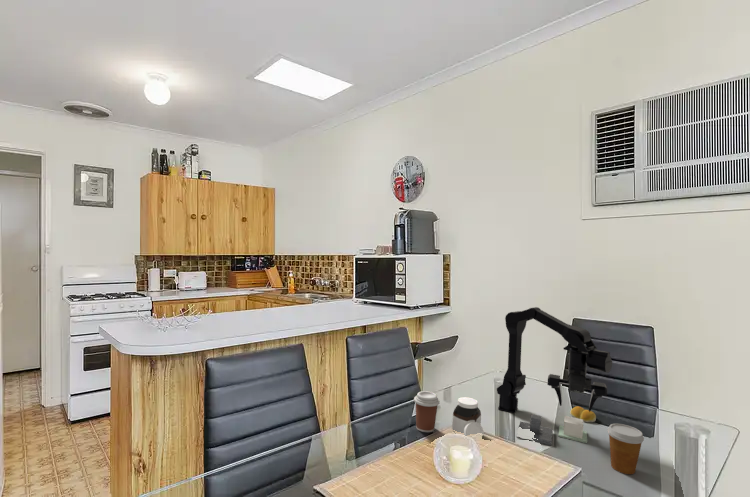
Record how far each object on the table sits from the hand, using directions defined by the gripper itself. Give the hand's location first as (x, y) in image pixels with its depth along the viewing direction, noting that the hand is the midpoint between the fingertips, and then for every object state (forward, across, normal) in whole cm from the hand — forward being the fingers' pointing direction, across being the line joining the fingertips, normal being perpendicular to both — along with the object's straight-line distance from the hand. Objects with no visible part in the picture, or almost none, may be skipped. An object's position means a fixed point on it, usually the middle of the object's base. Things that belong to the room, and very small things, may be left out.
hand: (574, 408), depth 148 cm
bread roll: (+10, +3, +19) cm, 22 cm away
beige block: (+9, 0, 0) cm, 9 cm away
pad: (+10, 0, 0) cm, 10 cm away
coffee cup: (+10, -47, -24) cm, 54 cm away
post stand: (+10, -12, -8) cm, 17 cm away
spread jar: (+10, -32, -22) cm, 40 cm away
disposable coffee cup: (+10, +14, -17) cm, 24 cm away
